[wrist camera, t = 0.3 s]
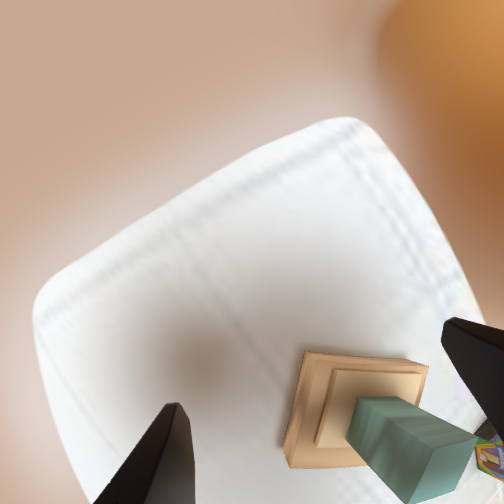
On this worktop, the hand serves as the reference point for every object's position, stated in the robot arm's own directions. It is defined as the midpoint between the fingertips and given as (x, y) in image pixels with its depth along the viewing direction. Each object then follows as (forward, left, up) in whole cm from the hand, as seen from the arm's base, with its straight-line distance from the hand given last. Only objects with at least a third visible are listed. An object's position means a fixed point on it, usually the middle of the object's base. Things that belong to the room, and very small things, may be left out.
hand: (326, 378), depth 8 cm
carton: (-10, -2, -14) cm, 17 cm away
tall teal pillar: (-9, -3, -10) cm, 14 cm away
